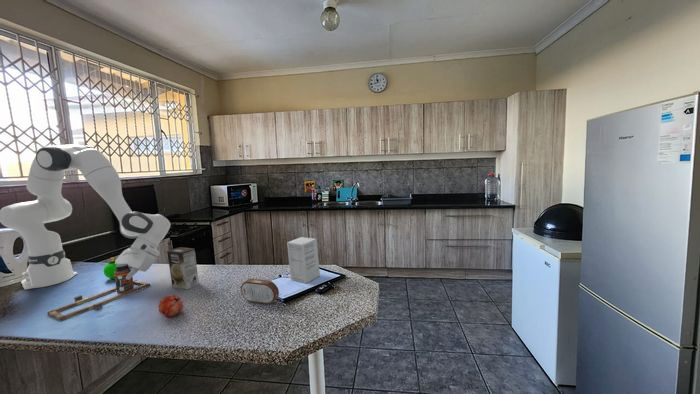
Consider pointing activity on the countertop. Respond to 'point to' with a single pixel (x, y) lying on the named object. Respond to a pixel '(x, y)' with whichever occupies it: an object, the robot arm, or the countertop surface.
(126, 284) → the supplement bottle
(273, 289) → the tin
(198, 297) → the countertop surface
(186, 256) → the coffee box
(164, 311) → the red round fruit
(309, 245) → the supplement box
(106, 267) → the ornament
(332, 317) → the countertop surface
